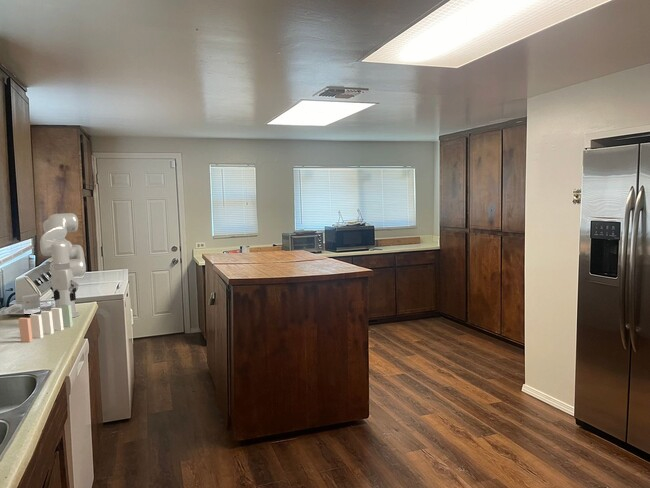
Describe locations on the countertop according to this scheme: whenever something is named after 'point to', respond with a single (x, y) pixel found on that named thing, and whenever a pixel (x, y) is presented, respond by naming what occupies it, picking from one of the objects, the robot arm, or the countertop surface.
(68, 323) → the domino
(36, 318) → the domino
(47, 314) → the domino
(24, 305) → the small box
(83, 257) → the robot arm
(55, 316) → the domino
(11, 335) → the countertop surface
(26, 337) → the domino
